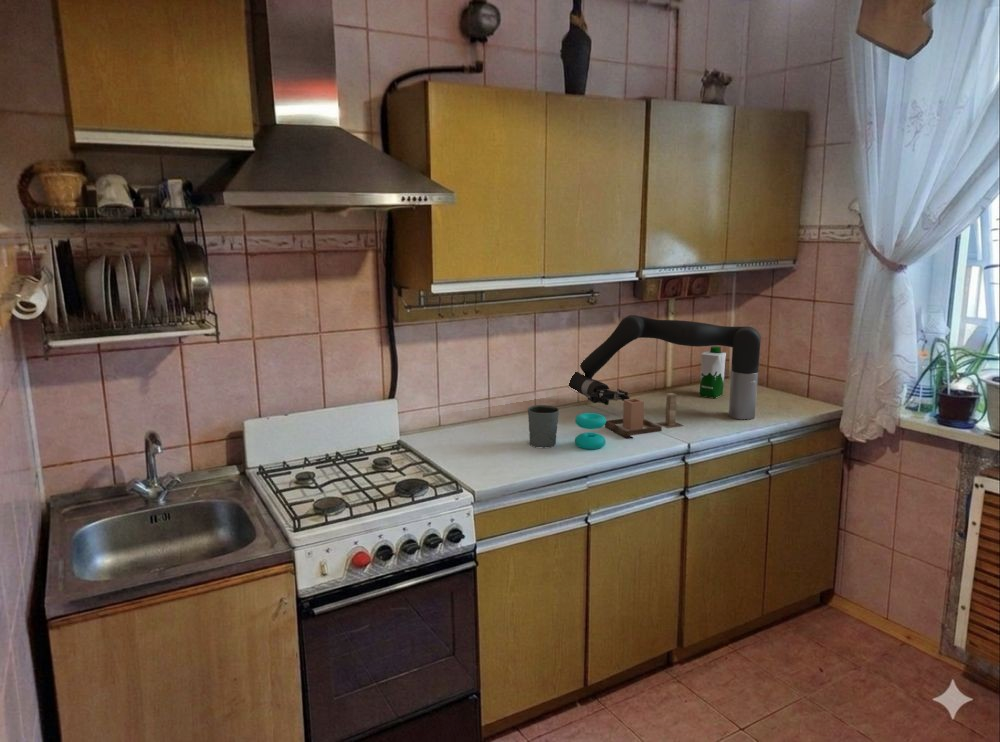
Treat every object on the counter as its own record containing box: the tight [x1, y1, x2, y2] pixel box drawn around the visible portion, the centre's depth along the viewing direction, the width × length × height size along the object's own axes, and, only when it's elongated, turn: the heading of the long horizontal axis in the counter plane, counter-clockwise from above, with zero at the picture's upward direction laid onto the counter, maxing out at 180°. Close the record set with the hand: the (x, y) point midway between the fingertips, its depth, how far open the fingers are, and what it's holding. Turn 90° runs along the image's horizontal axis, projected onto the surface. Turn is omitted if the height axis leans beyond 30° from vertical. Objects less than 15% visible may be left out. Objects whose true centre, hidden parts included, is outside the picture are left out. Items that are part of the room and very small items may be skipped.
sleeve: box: [622, 397, 645, 431], centre depth 241 cm, size 5×5×10 cm
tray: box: [604, 418, 663, 440], centre depth 242 cm, size 14×14×2 cm
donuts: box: [574, 412, 607, 450], centre depth 226 cm, size 10×10×10 cm
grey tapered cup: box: [527, 404, 560, 448], centre depth 228 cm, size 10×10×12 cm
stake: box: [656, 392, 685, 429], centre depth 245 cm, size 7×7×12 cm
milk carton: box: [699, 346, 727, 399], centre depth 285 cm, size 9×9×20 cm
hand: (618, 401), depth 249 cm, fingers open, 8 cm apart
